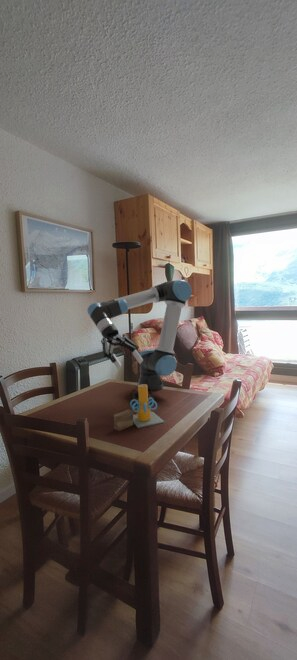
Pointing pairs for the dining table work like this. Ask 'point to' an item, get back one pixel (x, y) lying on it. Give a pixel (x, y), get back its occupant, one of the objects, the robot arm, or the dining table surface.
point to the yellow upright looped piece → (143, 404)
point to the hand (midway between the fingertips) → (131, 364)
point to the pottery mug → (136, 396)
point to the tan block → (123, 420)
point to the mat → (152, 421)
